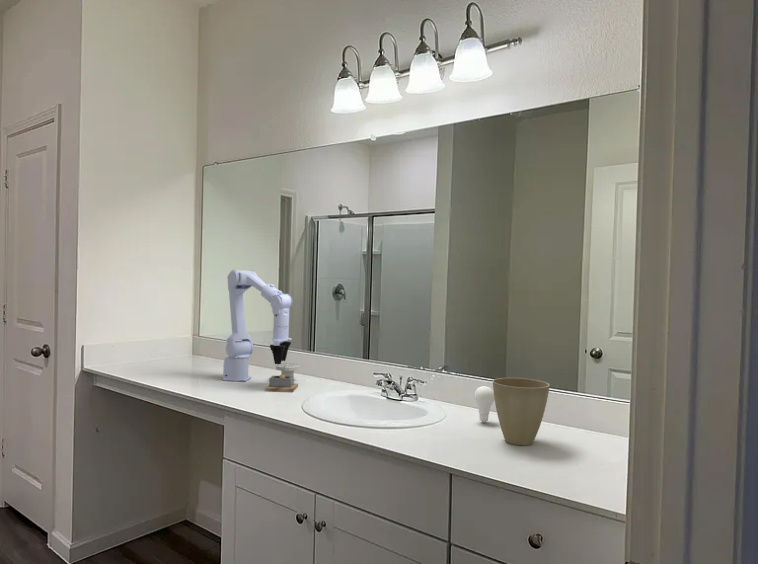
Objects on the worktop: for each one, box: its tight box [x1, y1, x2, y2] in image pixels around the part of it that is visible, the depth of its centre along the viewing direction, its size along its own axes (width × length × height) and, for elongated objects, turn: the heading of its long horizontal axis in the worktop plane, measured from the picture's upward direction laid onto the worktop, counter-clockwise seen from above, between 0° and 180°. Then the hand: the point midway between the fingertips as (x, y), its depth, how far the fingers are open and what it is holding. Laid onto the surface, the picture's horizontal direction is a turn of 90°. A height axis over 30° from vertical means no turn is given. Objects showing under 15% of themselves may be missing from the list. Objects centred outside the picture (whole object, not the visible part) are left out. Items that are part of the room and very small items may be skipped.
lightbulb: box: [473, 385, 495, 424], centre depth 169 cm, size 6×6×11 cm
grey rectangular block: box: [268, 375, 295, 388], centre depth 209 cm, size 8×6×3 cm
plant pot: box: [492, 377, 550, 446], centre depth 150 cm, size 15×15×16 cm
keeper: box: [265, 374, 299, 393], centre depth 209 cm, size 10×10×5 cm
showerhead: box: [275, 362, 300, 377], centre depth 224 cm, size 9×7×10 cm
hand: (280, 362), depth 210 cm, fingers open, 7 cm apart
